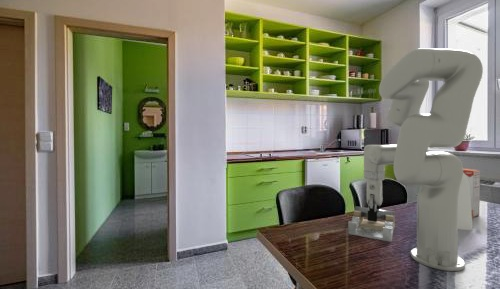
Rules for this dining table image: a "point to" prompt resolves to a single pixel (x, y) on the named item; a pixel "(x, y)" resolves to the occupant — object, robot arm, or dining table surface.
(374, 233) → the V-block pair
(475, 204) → the cracker box
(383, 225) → the bearing cradle
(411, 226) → the dining table surface
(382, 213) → the steel axle
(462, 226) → the milk
